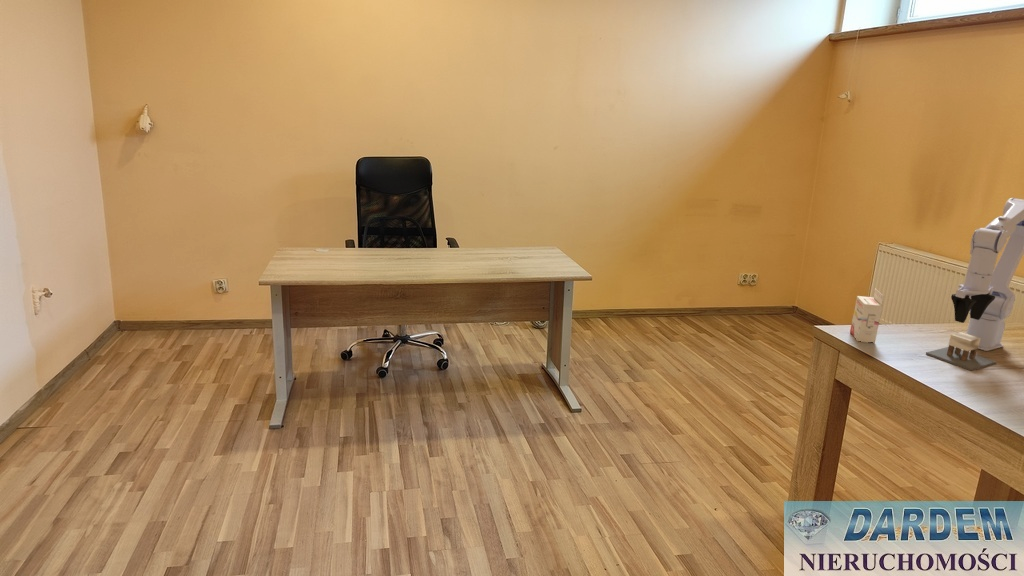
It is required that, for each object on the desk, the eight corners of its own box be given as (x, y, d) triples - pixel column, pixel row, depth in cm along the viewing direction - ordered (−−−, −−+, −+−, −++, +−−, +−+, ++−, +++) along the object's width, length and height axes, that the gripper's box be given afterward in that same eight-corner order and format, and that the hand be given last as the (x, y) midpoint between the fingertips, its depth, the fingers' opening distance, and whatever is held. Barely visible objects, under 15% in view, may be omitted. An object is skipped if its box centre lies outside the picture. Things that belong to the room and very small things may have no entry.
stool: (956, 352, 182) (961, 332, 180) (975, 358, 177) (980, 338, 176) (945, 354, 179) (951, 334, 178) (964, 361, 175) (970, 340, 173)
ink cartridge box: (848, 331, 196) (857, 285, 192) (866, 333, 195) (875, 287, 191) (857, 341, 188) (867, 293, 184) (875, 343, 187) (885, 295, 183)
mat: (950, 348, 186) (950, 346, 186) (995, 363, 176) (996, 361, 176) (925, 354, 181) (926, 352, 180) (971, 370, 171) (971, 368, 170)
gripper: (978, 267, 181) (966, 313, 185) (949, 270, 174) (937, 318, 178) (1006, 273, 175) (993, 320, 179) (977, 277, 168) (964, 326, 172)
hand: (967, 320), depth 178 cm, fingers open, 7 cm apart
